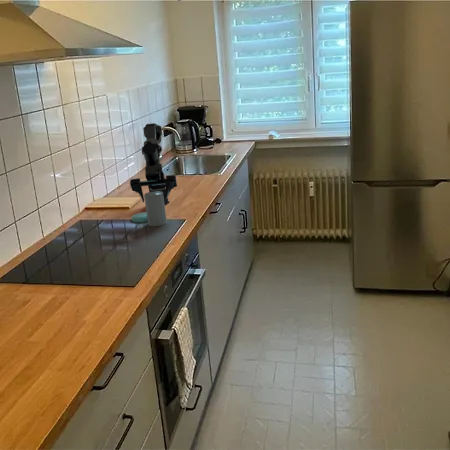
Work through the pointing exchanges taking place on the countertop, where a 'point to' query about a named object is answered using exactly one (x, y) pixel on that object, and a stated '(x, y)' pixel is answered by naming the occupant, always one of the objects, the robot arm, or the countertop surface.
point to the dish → (140, 217)
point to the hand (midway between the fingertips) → (154, 200)
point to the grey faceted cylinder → (155, 208)
